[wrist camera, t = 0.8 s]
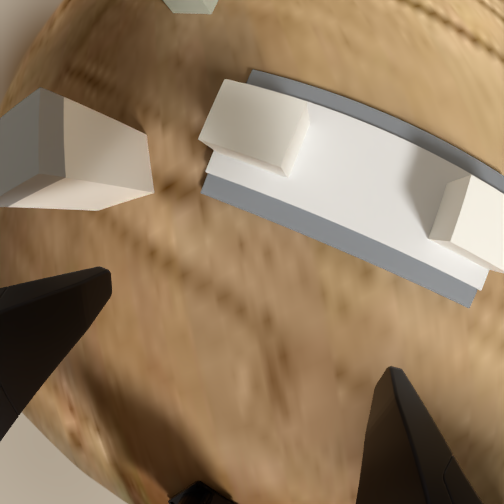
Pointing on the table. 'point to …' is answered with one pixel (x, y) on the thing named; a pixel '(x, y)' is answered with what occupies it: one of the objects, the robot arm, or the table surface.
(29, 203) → the block
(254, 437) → the table surface
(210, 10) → the box
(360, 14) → the table surface
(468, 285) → the board
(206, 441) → the table surface
